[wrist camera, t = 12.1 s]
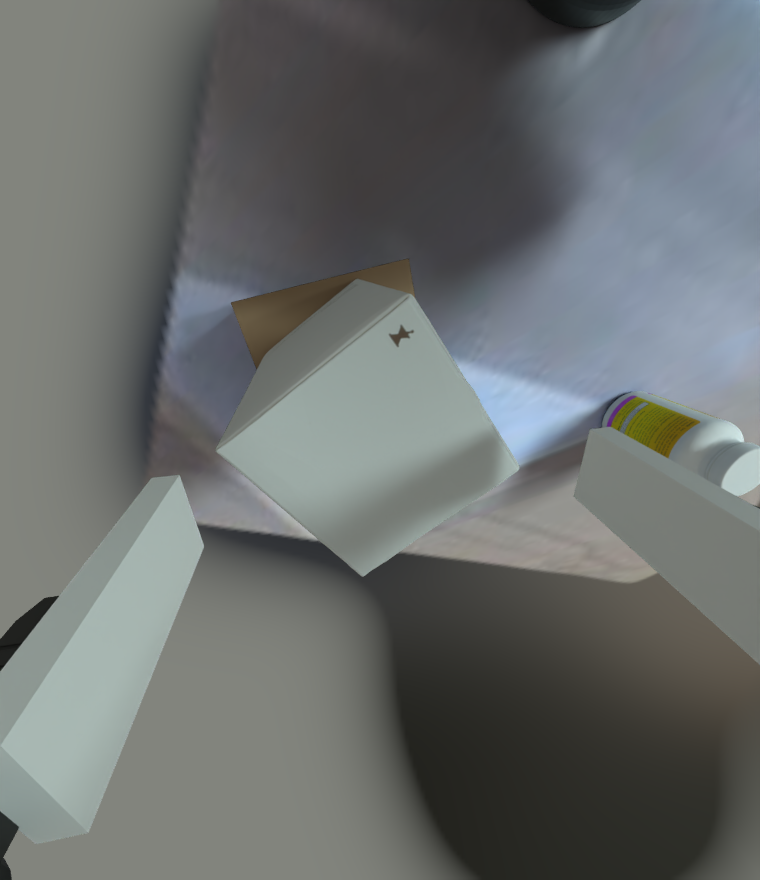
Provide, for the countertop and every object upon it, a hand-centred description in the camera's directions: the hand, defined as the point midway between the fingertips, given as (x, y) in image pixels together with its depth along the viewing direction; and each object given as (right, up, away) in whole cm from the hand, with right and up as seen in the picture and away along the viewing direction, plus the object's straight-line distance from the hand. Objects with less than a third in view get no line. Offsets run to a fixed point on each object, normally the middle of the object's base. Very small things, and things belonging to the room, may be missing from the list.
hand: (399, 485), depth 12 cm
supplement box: (-3, +7, +15) cm, 17 cm away
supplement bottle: (+28, +4, +29) cm, 41 cm away
